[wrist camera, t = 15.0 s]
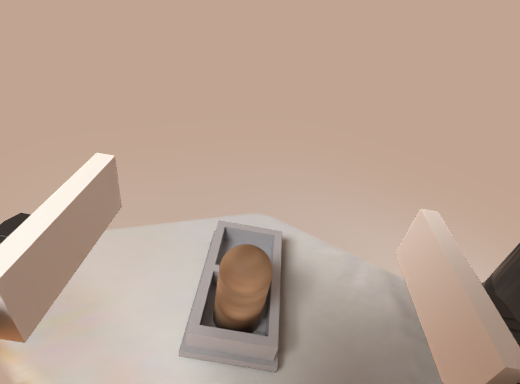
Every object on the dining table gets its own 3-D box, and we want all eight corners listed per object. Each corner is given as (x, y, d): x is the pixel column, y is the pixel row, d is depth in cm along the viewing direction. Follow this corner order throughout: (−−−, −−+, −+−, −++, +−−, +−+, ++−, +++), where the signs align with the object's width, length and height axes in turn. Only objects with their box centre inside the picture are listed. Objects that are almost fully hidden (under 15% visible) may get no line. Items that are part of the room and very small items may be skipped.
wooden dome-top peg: (268, 313, 36) (287, 251, 30) (241, 348, 32) (256, 285, 27) (232, 288, 38) (244, 225, 32) (202, 318, 34) (209, 253, 29)
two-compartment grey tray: (275, 372, 32) (283, 354, 30) (178, 356, 32) (179, 336, 30) (280, 247, 46) (285, 229, 44) (213, 235, 46) (215, 217, 44)
